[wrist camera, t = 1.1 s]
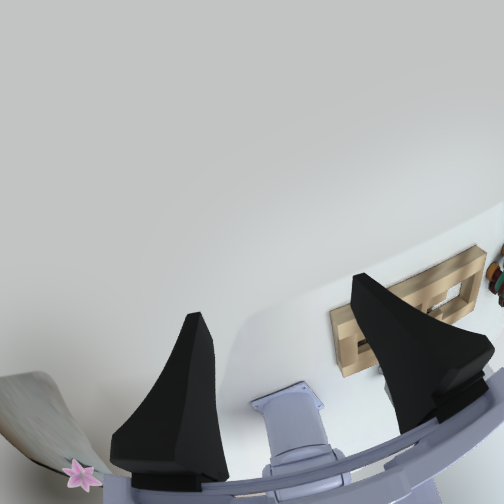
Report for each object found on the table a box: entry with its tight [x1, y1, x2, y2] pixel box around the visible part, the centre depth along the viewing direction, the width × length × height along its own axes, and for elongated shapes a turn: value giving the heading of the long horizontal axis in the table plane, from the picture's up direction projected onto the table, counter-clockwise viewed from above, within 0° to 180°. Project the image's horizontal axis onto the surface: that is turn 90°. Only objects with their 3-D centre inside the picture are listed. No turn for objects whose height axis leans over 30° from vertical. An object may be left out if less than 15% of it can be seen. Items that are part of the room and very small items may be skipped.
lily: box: [62, 459, 103, 492], centre depth 46 cm, size 12×12×10 cm
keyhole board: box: [330, 245, 487, 378], centre depth 28 cm, size 22×10×2 cm, turn 107°
